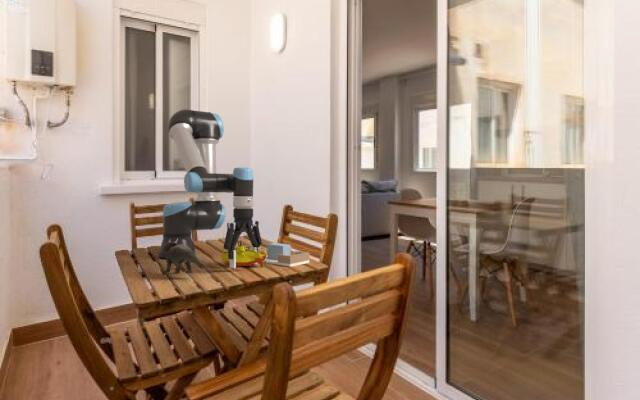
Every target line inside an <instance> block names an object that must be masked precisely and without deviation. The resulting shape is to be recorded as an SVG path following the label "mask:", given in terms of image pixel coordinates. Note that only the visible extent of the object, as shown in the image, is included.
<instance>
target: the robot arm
mask: <svg viewBox="0 0 640 400" xmlns="http://www.w3.org/2000/svg"><path fill="white" fill-rule="evenodd" d="M167 132H168V134H169V136H170V138H171V139H172V140H173V141H174V143H175V146H176V148H177V151H178V153H179V156H180V158H181V163H182V164H183V167H184V170H185V171H186V174H185V175H184V178H183V183H184V189H185V191H186V192H189V193H196V194H197V196H196V198H195V199H193V204H192V202H191V201H180V202H174V203H173V202H172V203H168V204H165V205H164V206H163V208H162V215H161V216H162V240H161V243H160V247H159V249H158V257H159V258H162V259H163V258H164V259H166V255H167V253H168V251H167V252H164V251H163V250H162V249H163V248H162V247H163V246H164V244H166V243H168V242H169V240H170V241H171V242H175V241H176V240H177V238H178V241H177V244H179V245H180V244H182V245H185V246H187V247H189V248H190V249H191V250H192V252H193V253H194V255H195V256H196V251H197V250H196V247H195V244H194V241H193V239H192V231H203V230H204V231H208V230H210V231H212V230H218V229H220V228H221V227H222V226H223V224H225V220H226V215H227V214H226V208H225V207H226V206H225V205H224V204H222V203H221V199H220V198H219V197H218V195H217V194H218V193H227V194H228V193H229V194H231V193H233V194H232V196H233V197H232V199H233V202H232V206H233V209H232V211H233V214H232V215H233V219H234V220H233V222H227V223H226V228H227V230H226V235H225V239H224V242H223V249H224V250H226V251H227V252H228V258H229V259H230V264H229V268H231V269H236V268H237V266H236V251H235V250H234V248H235V247H237V246H236V245H237V244H238V242H239V239H240V236H241V235H242V234H243V233H245V234H246V235H247V237H248V239H249V241H250V243H251V244H250V245H251V246H252V247H253V248H252V247H251V250H252V251H256V252H258V249H259V248H261V246H262V245H263V241H262V237H261V234H260V229H259V223H260V221H259V220H253V218H254V209H253V207H254V170H253V169H252V168H251V167H234V168H233V171H232V173H217V149H216V145H218V143H220V139H222V138H223V135H224V122H223V119H222V118H221V117H220V115H219V114H217V113H214V112H209V111H201V110H194V109H193V110H192V109H187V108H186V109H181V110H177V111H176V112H175V113H173V114H172V115H171V117H170V118H169V121H168V124H167ZM254 248H255V249H254ZM256 249H257V250H256ZM257 264H258V262H257V263H254V264H253V265H257Z"/></svg>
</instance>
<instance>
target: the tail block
mask: <svg viewBox="0 0 640 400" xmlns="http://www.w3.org/2000/svg"><path fill="white" fill-rule="evenodd" d="M266 244H267V243H266ZM266 246H267V247H266V248H267V259H274V260H278V254H282V255H289V256H291V251H292V250H291V249H292V247H291V246H292V245H291V244H285V243H277V242H272V243H268V244H267V245H266Z"/></svg>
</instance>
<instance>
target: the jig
mask: <svg viewBox="0 0 640 400" xmlns="http://www.w3.org/2000/svg"><path fill="white" fill-rule="evenodd" d="M249 245H250V244H248V245H247V244H245V245H243V246H244V247H245V248H248V249H247V250H251V247H253V246H252V245H250V246H251V247H250V246H249ZM236 247H237V246H235V248H234V250H236ZM247 250H246V251H247ZM258 250H259V251H260V252H259V251H258V253H260V254H261V251H262V250H265V252H266V259H265V260H264V261H266V264H270V265H276V266H283V267H284V266H285V267H290V268H291V267H295V266H300V265H304V264H310V252H307V251H306V252H305V251H297V250H295V251H294V254H292V255H291V256H289V255H282V254H278V260H274V259H267V247H262V246H261V247H260V248H258ZM264 261H263V263H264Z"/></svg>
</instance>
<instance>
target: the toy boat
mask: <svg viewBox="0 0 640 400" xmlns="http://www.w3.org/2000/svg"><path fill="white" fill-rule="evenodd" d="M242 243H244V244H245V245H249V246H250V247H251V246H252V245H251V244H248V243H246V242H245V241H242V240H239V241H237V244H238V245H237V246H235V247H236V250H235V251H236V267H245V266H246V267H248V266H251V265H255V264H254V263H257V264H259V265H260V267H261V268H263V267H264V266H266V265H267V263H266V261H264V260H265V259H266V252H265V250H262V251H261V254H260V253H258V252H256V251H252V250H247V249H248V248H245V247H244V246H245V245H242ZM252 248H253V246H252ZM254 249H255V248H254ZM246 250H247V251H246ZM256 250H257V249H256ZM258 251H259V250H258ZM259 252H260V251H259ZM220 254H221V255H220V256H221V260H222V261H223V262H225V263H226V264H229V265H230V259H229V258H228V251H225V252H224V251H223V252H221V253H220ZM263 261H264V262H263Z"/></svg>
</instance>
